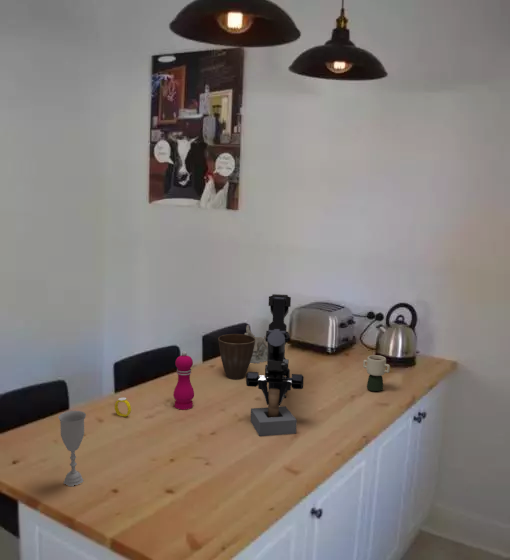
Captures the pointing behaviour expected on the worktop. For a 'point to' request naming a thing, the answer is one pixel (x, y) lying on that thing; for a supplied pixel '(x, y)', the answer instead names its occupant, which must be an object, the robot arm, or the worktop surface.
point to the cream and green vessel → (376, 371)
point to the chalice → (72, 441)
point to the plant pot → (236, 354)
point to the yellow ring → (125, 403)
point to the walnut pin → (273, 402)
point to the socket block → (273, 422)
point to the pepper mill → (183, 383)
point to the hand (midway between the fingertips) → (273, 404)
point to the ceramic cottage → (258, 348)
